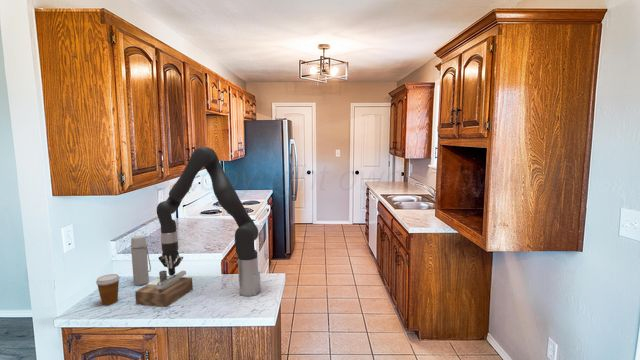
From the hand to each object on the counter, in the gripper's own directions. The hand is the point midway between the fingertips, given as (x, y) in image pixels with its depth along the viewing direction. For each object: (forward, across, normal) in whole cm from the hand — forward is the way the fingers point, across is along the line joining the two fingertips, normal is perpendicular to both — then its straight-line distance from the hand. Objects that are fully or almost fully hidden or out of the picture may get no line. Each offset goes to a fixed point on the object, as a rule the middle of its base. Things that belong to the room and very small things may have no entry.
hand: (172, 275), depth 178 cm
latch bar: (0, -5, +7) cm, 9 cm away
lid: (+2, 0, +6) cm, 7 cm away
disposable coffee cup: (+8, +21, +17) cm, 28 cm away
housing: (+8, -1, +7) cm, 11 cm away
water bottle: (+8, +23, -7) cm, 25 cm away
